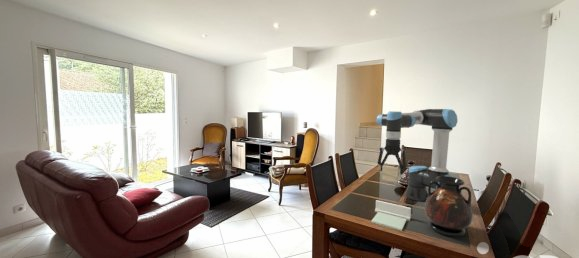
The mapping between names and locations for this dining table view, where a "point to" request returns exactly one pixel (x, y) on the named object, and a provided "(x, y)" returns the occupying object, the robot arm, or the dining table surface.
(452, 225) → the amphora vase
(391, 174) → the maple cube
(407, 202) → the dining table surface
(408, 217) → the white slab
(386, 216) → the display pad
